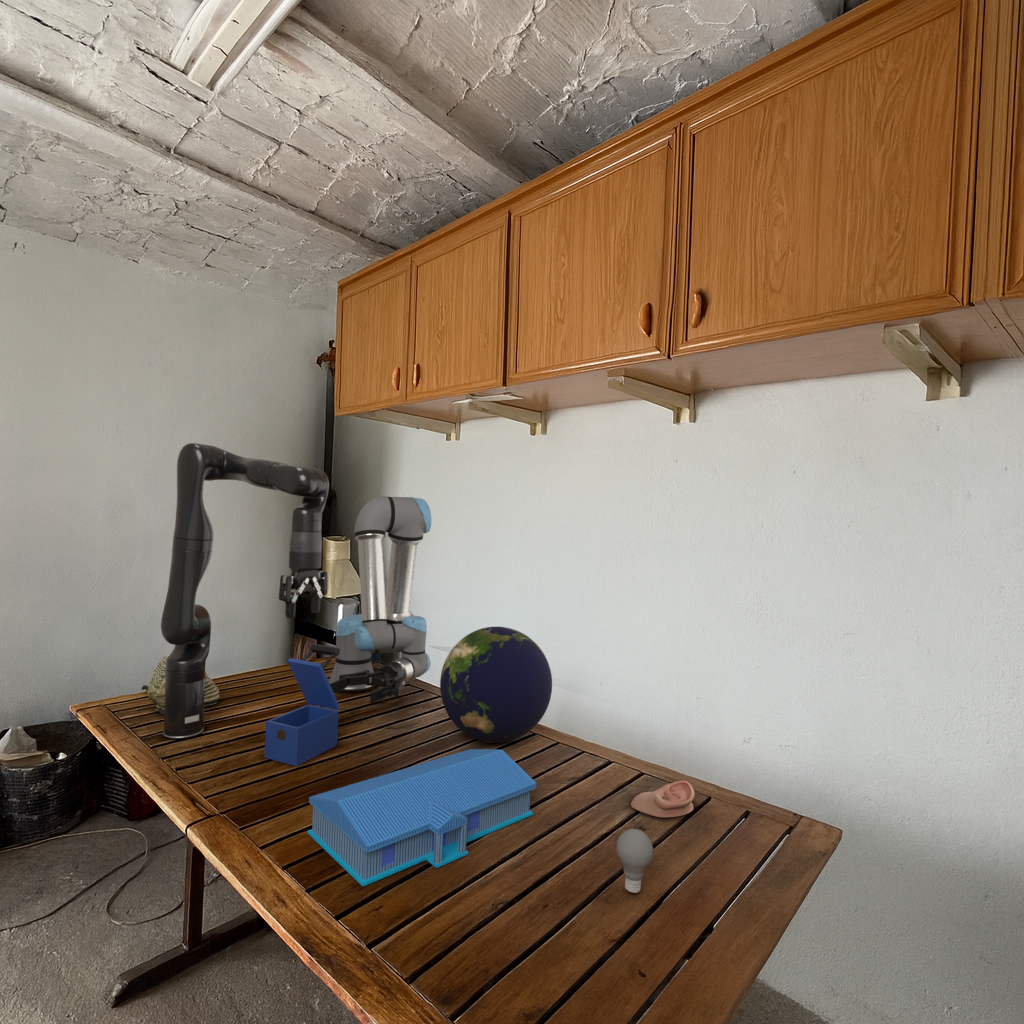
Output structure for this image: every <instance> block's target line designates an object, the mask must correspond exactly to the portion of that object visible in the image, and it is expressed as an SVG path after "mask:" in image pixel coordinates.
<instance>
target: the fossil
mask: <svg viewBox="0 0 1024 1024" xmlns="http://www.w3.org/2000/svg"><path fill="white" fill-rule="evenodd" d="M169 655H170V654H165V655H164V656H163V657H162V658H161V659H160V660H159V662H158V663H157V666H156V667H155V669H154V670H153V672H152V675H151V677H150V680H149V684H148V687H149V688H148V692H147V697H148V699H149V700H150V701H152V703H153V704H154V706H155V711H158V709H157V708H162V709H163V711H164V705H165V674H166V659H167V657H168V656H169ZM220 698H221V696H220V690H219V688H218V686H217V685H216V683H215V682H214V681H213V679H212V678H211V677H209V675H208V674H207V672H206V671H205V693H204V707H207V706H213V705H215V704H217V703H218V701H219V699H220Z"/></svg>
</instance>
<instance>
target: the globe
mask: <svg viewBox="0 0 1024 1024" xmlns="http://www.w3.org/2000/svg"><path fill="white" fill-rule="evenodd" d="M551 670H552V669H551V667H550V664H549V660H548V659H547V656H546V655H545V652H544V651H543V650H542V648H541V647H540V646H539V645H538V644H537V643H536V642H535V641H534V640H533V639H532V638H531V637H530V636H528V635H526V634H525V633H523V632H522V631H519V630H517V629H514V628H510V627H508V626H507V627H506V626H500V625H499V626H487V627H482V628H479V629H477V630H474V631H472V632H470V633H469V634H466V635H465V636H464V637H462V638H461V639H460V640H459V641H458V642H457V643H456V644H455V645H454V646H452V648H451V650H450V651H449V653H448V654H447V656H446V658H445V661H444V662H443V666H442V669H441V671H440V672H441V673H440V680H439V691H440V698H441V701H442V705H443V707H444V710H445V712H446V714H447V715H448V717H449V719H450V720H451V722H452V723H453V724H454V725H455V726H456V728H458V729H459V730H460V731H461V732H463V733H464V734H465V735H467V736H469V737H470V738H472V739H475V740H477V741H480V742H484V743H488V744H489V743H490V744H499V743H500V744H501V743H506V742H507V743H508V742H511V741H515V740H517V739H519V738H521V737H523V736H525V735H527V734H528V733H529V732H531V730H533V729H534V728H535V727H536V726H538V724H539V723H540V721H541V720H542V718H543V717H544V716H545V713H546V712H547V710H548V708H549V705H550V702H551V699H552V698H551V697H552V693H553V677H552V671H551Z"/></svg>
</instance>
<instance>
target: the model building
mask: <svg viewBox="0 0 1024 1024" xmlns="http://www.w3.org/2000/svg"><path fill="white" fill-rule="evenodd" d="M537 783H538V782H536V780H534V779H533V778H532V777H531V776H530V775H529V773H527V772H526V771H525V770H524V769H523V768H522V767H521V766H520V765H519V764H518V763H517V762H516V761H515V760H514V759H513V758H512V757H510V756H509V754H507V752H506V751H505V750H503V749H492V748H491V749H485V748H484V749H483V748H481V749H479V748H470V749H466V750H463V751H460V752H456V753H452V754H450V755H446V756H442V757H439V758H436V759H433V760H429V761H426V762H423V763H420V764H416V765H413V766H410V767H406V768H402V769H399V770H396V771H392V772H389V773H386V774H382V775H379V776H376V777H372V778H369V779H365V780H362V781H359V782H355V783H352V784H348V785H345V786H342V787H338V788H336V789H332V790H328V791H325V792H321V793H318V794H315V795H312V796H309V797H308V803H309V804H310V805H311V806H312V828H311V829H308V830H307V834H308V836H309V837H310V838H312V839H313V840H314V841H315V842H316V843H317V845H319V846H320V847H321V848H322V849H323V850H324V851H325V852H326V853H327V854H329V856H330V857H331V858H332V859H333V860H334V861H336V862H337V864H339V865H340V867H342V868H343V869H344V870H345V871H346V872H347V874H349V875H350V876H351V877H352V878H353V879H354V880H355V881H356V882H357V883H358V884H359V885H360V886H361V887H365V886H368V885H371V884H373V883H376V882H377V881H379V880H381V879H385V878H386V877H390V876H391V875H394V874H396V873H400V872H401V871H403V870H406V869H408V868H411V867H413V866H415V865H418V864H420V863H422V862H425V861H426V862H428V863H429V864H431V865H432V866H433V867H434V868H436V869H438V868H440V867H442V866H445V865H447V864H450V863H452V862H455V861H456V860H459V859H461V858H463V857H465V856H466V857H467V856H468V855H469V851H468V850H467V844H468V843H470V842H472V841H475V840H477V839H480V838H481V837H484V836H486V835H488V834H492V833H493V832H496V831H498V830H501V829H503V828H505V827H507V826H510V825H513V824H515V823H517V822H520V821H522V820H525V819H526V818H529V817H532V816H534V812H533V811H532V810H530V807H531V791H532V790H535V789H537Z"/></svg>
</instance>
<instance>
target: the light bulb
mask: <svg viewBox="0 0 1024 1024" xmlns="http://www.w3.org/2000/svg"><path fill="white" fill-rule="evenodd" d="M615 849H616V854H617V857H618V859H619V861H620V863H621V865H622V867H623V873H624V874H623V875H624V876H625V878H624V888H625V890H627V891H628V892H630V893H634V894H635V893H639V892H640V891H641V889H642V887H641V886H642V879H643V877H644V875H645V871H646V868H647V867H648V866H649V864H650V863H651V861H652V859H653V855H654V847H653V843H652V841H651V838H649V836H648V835H647V834H646V833H645V832H643V831H642V830H641V829H636V828H629V829H627V830H625V831H623V832H622V833H621V834H620V835H619V837H618V839H617V841H616V847H615Z"/></svg>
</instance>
